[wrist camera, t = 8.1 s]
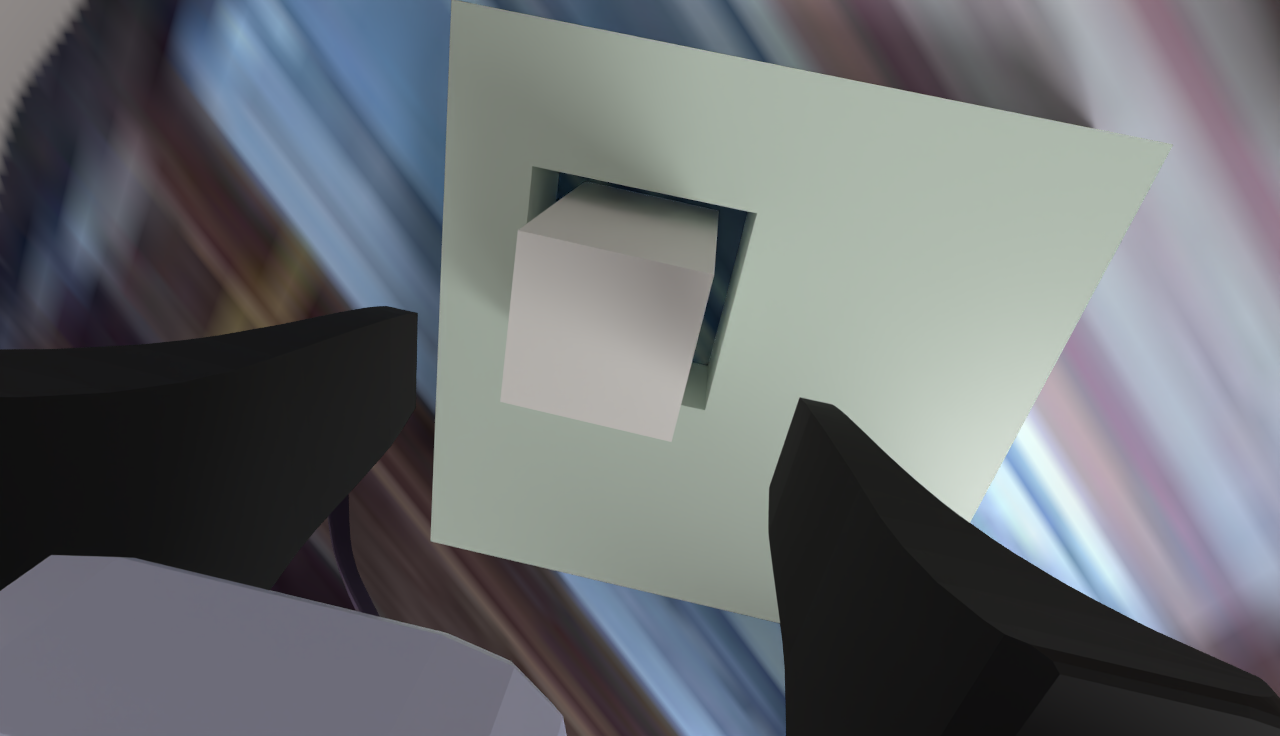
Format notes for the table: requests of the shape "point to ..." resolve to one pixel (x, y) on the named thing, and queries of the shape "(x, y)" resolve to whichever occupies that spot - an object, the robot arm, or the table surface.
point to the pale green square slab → (755, 290)
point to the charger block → (609, 308)
